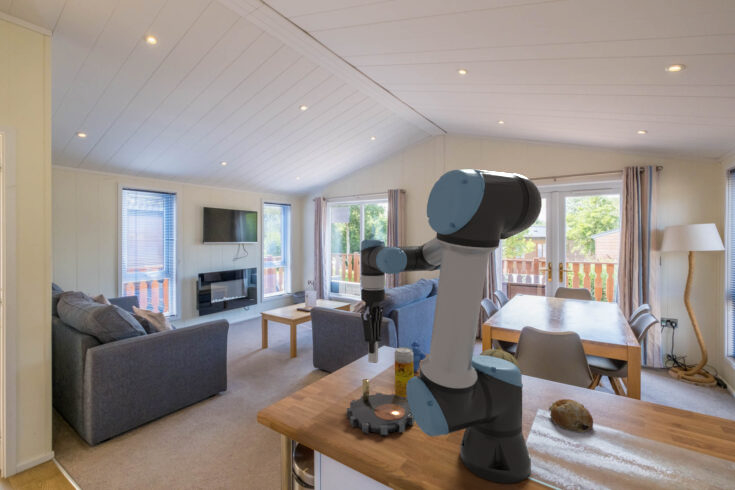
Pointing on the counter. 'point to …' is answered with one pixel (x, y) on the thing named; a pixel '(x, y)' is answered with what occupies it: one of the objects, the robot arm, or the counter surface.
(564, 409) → the bread roll
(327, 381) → the counter surface
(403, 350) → the beer can
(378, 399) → the sprocket
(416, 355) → the grapes
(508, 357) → the cantaloupe
